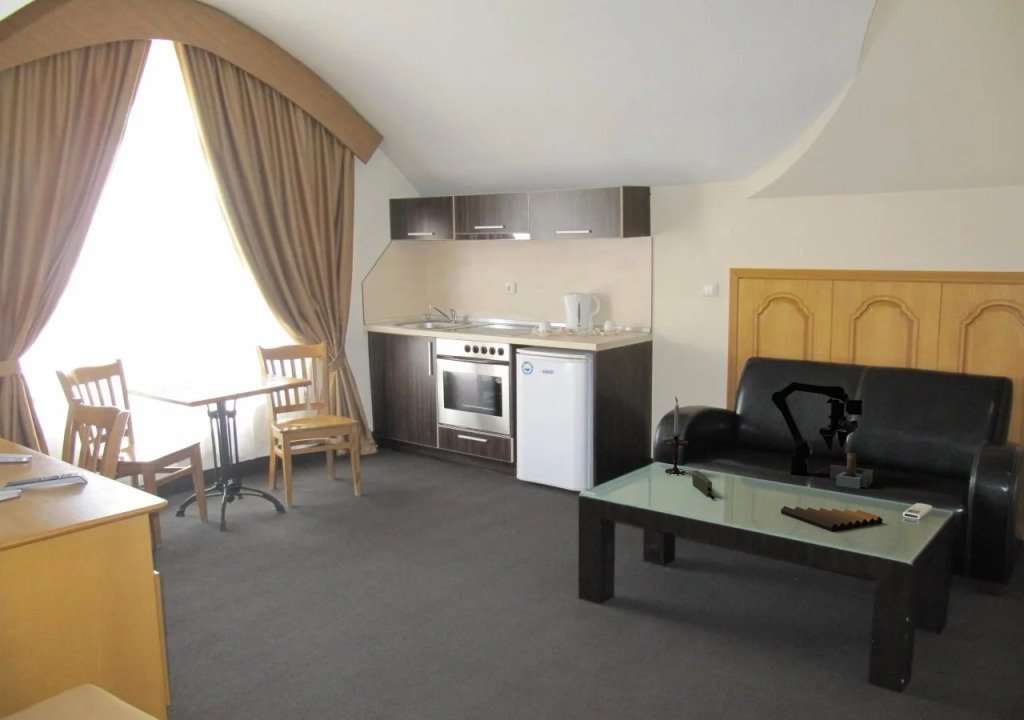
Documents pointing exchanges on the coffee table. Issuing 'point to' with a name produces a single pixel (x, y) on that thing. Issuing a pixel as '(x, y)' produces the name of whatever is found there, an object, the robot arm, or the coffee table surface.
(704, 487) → the handheld radio
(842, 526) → the pan flute
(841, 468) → the corner stop
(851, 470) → the dowel
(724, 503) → the coffee table surface
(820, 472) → the coffee table surface
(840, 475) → the socket block
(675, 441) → the candlestick
